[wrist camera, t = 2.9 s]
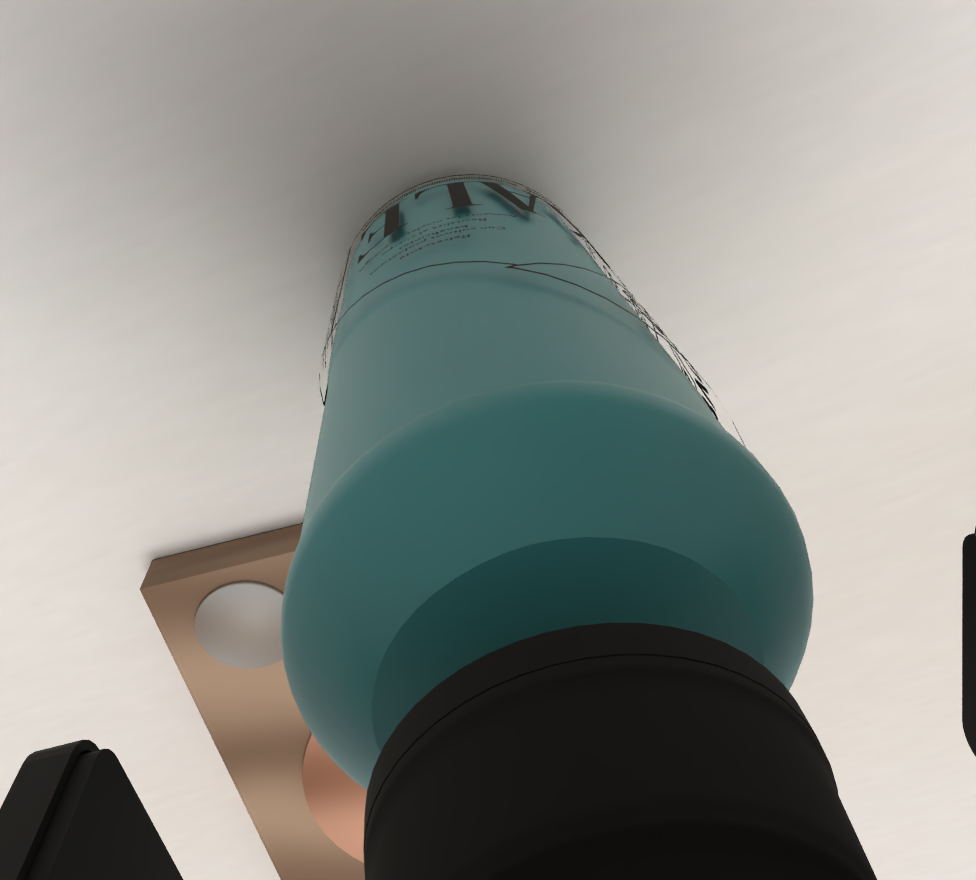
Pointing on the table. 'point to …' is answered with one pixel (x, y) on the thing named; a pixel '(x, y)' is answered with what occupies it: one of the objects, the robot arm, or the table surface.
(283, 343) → the table surface
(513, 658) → the beverage bottle
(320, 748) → the board
